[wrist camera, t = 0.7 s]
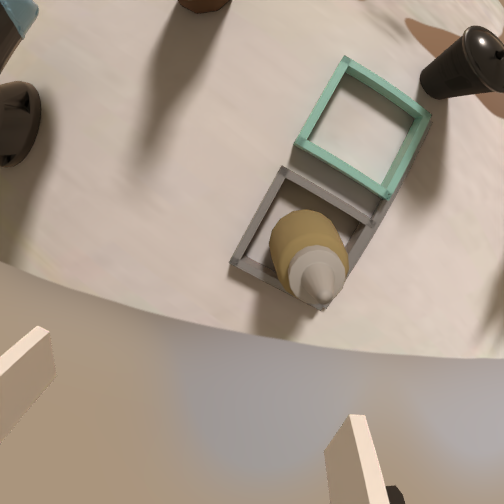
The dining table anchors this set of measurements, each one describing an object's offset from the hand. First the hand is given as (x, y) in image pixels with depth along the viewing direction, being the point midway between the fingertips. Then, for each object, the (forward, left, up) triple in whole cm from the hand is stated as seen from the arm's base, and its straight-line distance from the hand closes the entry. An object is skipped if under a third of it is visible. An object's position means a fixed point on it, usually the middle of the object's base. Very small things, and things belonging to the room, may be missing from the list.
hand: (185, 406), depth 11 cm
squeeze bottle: (+6, +4, -28) cm, 29 cm away
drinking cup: (+12, +32, -28) cm, 44 cm away
